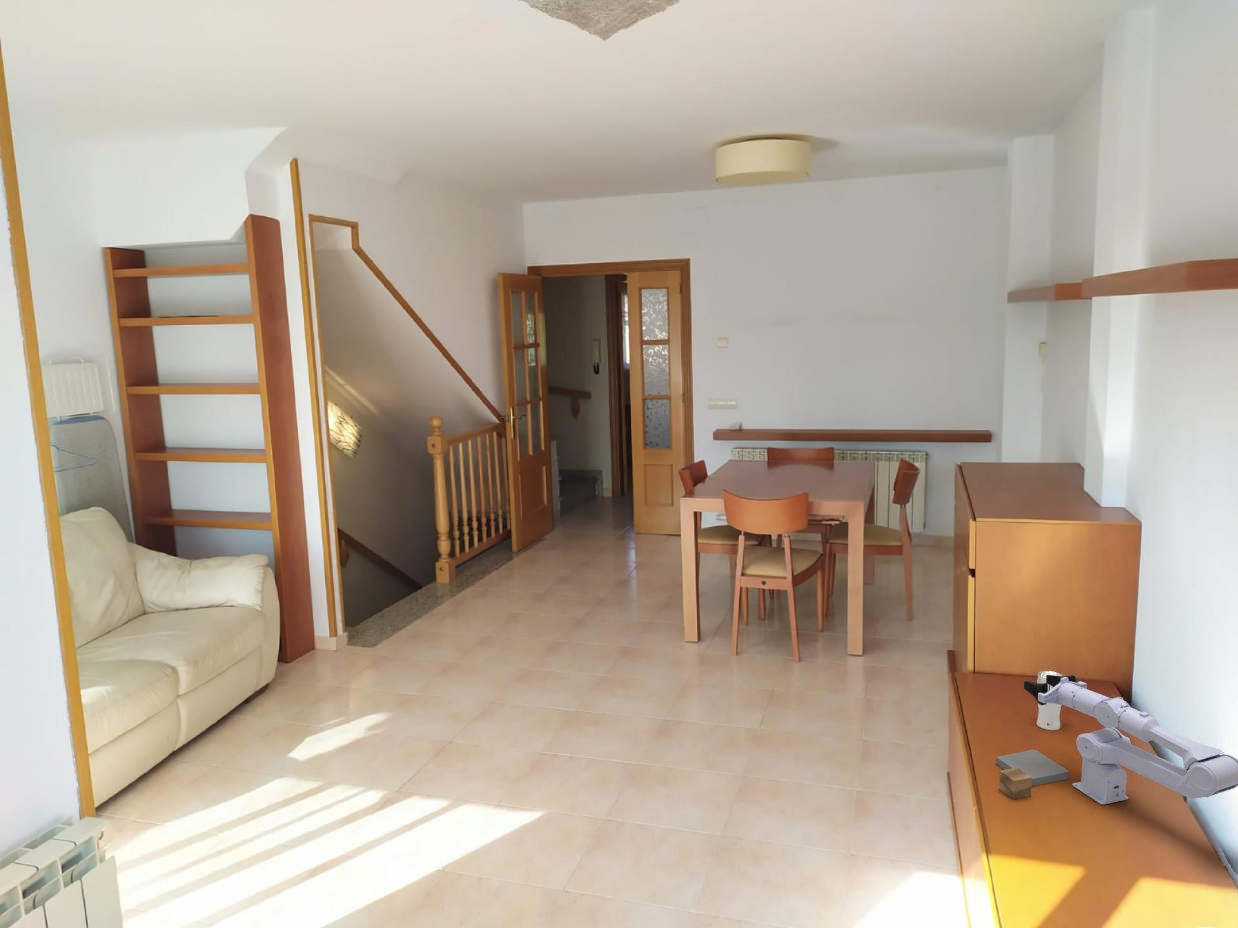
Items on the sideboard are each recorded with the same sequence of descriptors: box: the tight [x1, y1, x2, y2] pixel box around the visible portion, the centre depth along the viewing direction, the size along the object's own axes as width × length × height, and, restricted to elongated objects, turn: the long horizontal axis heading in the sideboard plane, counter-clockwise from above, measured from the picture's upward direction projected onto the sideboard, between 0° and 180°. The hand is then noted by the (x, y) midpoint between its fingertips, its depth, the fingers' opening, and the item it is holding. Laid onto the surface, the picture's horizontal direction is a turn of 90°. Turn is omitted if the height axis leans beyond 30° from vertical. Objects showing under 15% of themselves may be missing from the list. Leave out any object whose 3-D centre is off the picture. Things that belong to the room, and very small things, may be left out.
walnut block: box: [998, 768, 1032, 800], centre depth 217 cm, size 5×5×5 cm
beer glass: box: [1036, 670, 1064, 731], centre depth 250 cm, size 7×7×15 cm
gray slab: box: [995, 749, 1070, 788], centre depth 227 cm, size 12×12×2 cm
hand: (1036, 681), depth 231 cm, fingers open, 7 cm apart
